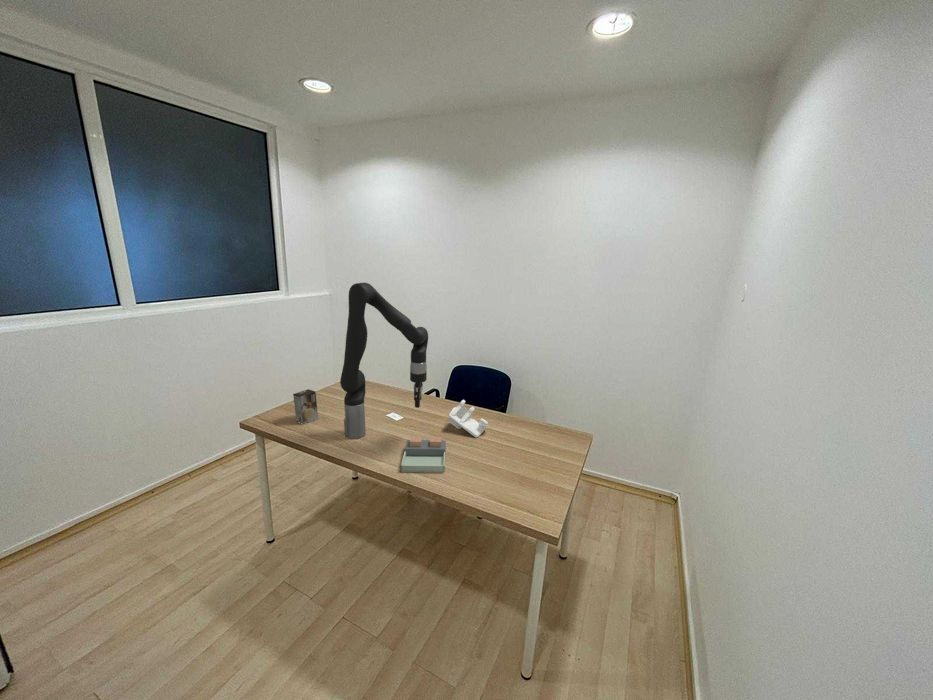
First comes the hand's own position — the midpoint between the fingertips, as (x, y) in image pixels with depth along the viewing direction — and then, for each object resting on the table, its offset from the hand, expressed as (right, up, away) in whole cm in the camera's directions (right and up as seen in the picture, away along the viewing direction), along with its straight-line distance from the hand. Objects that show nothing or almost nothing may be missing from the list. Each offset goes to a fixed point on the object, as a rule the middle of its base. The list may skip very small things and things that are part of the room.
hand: (418, 403), depth 165 cm
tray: (+4, -24, -14) cm, 28 cm away
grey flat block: (+4, -22, -4) cm, 23 cm away
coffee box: (-63, -13, +24) cm, 68 cm away
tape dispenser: (+23, -17, +18) cm, 34 cm away
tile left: (0, -18, -5) cm, 18 cm away
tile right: (+9, -18, -4) cm, 20 cm away
